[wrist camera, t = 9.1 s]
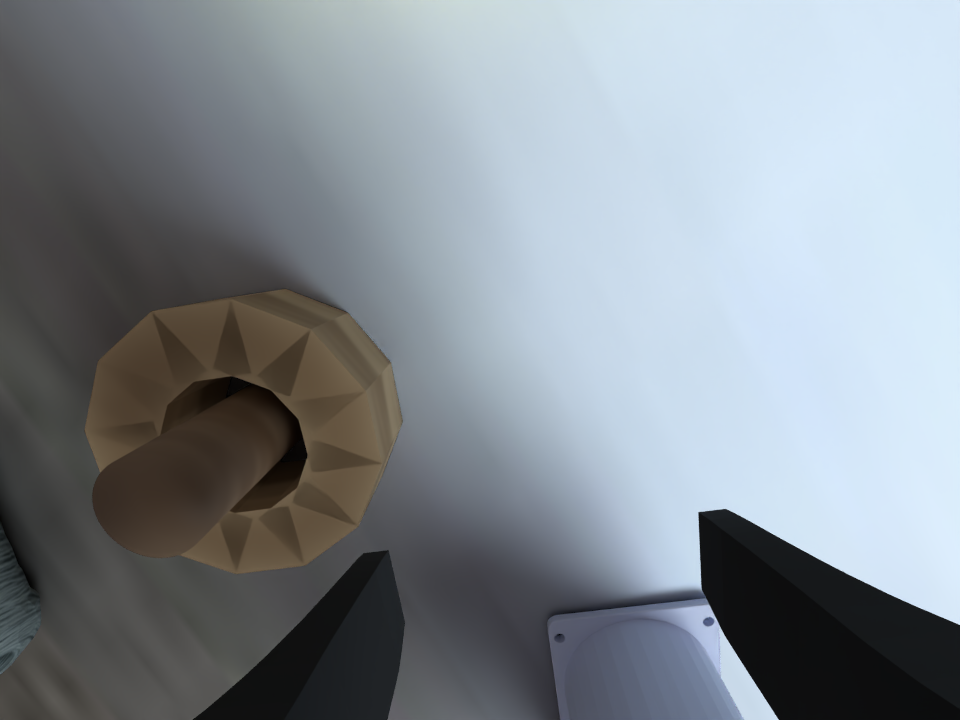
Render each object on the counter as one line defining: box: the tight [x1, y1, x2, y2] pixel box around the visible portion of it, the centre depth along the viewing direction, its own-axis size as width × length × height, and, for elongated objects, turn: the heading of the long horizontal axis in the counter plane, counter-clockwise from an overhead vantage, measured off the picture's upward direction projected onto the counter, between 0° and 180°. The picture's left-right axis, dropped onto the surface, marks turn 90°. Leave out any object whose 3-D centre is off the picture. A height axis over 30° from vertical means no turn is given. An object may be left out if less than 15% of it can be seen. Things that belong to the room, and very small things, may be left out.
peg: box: [92, 383, 303, 558], centre depth 16 cm, size 3×3×8 cm
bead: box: [85, 289, 403, 574], centre depth 18 cm, size 10×10×4 cm
